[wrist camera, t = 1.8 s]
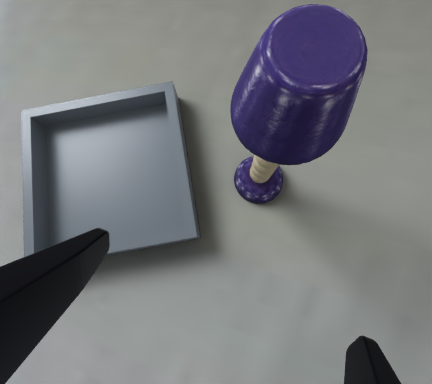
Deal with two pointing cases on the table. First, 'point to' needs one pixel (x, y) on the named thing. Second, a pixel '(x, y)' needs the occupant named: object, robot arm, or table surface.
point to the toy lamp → (295, 94)
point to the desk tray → (108, 171)
